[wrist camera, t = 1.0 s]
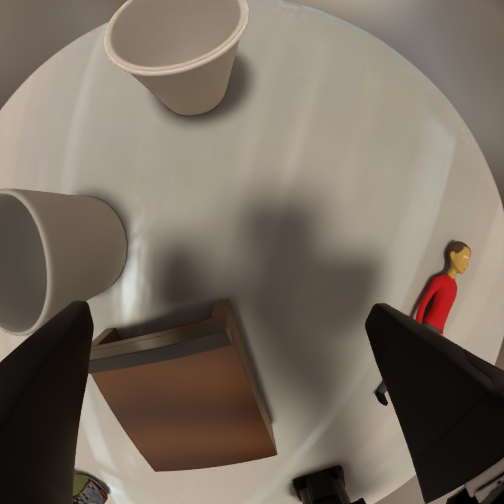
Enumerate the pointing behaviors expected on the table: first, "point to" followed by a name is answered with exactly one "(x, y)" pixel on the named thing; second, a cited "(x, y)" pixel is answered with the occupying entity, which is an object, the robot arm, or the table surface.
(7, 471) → the robot arm
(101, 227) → the mug
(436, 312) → the person figure
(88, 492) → the beverage can
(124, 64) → the dixie cup
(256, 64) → the table surface
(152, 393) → the wooden riser stand
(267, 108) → the table surface
